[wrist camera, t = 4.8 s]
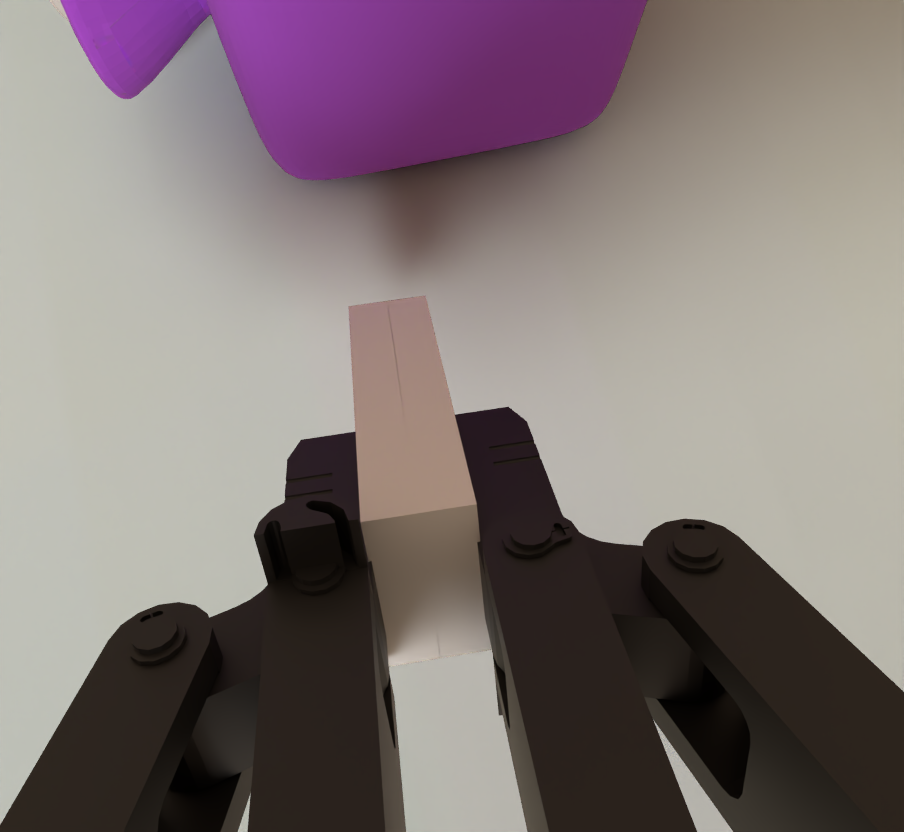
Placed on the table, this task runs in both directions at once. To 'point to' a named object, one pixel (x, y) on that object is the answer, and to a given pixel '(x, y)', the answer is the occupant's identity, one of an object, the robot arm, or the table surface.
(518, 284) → the table surface
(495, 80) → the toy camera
